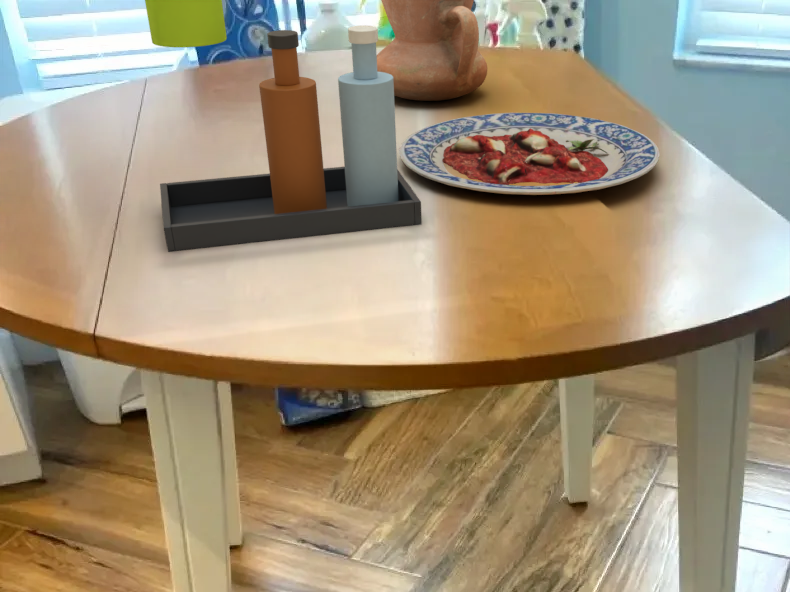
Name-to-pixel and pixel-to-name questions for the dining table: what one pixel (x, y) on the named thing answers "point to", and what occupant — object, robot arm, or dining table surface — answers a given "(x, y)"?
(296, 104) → the amber bottle
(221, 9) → the soap dispenser
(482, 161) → the ceramic plate
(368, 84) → the pale blue bottle
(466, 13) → the ceramic jug
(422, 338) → the dining table surface
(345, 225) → the tray
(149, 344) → the dining table surface
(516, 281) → the dining table surface
